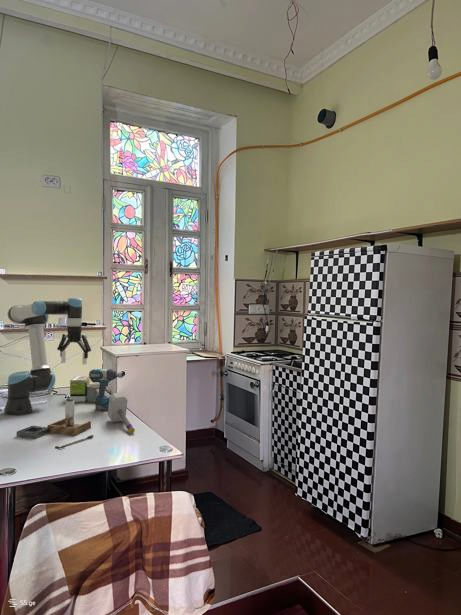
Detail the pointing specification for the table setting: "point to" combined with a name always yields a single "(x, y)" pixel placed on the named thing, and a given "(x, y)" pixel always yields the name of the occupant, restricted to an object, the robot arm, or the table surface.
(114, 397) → the hammer
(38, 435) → the socket
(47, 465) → the table surface
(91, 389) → the grey box
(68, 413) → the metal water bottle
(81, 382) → the tea box
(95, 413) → the table surface
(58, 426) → the brown wooden tray
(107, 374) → the impact wrench
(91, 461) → the table surface
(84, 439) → the tan and black strip
